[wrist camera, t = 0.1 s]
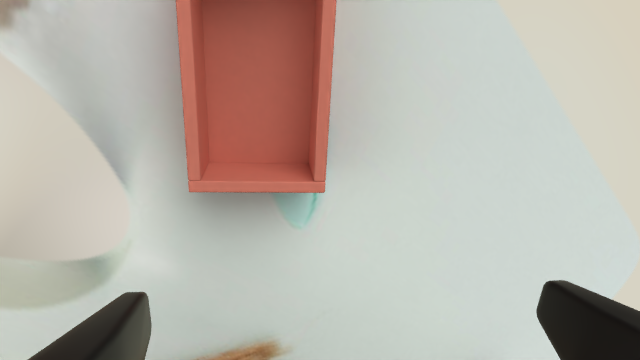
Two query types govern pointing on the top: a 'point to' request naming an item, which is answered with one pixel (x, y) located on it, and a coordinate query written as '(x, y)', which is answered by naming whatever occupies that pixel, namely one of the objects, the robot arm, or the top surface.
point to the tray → (256, 93)
